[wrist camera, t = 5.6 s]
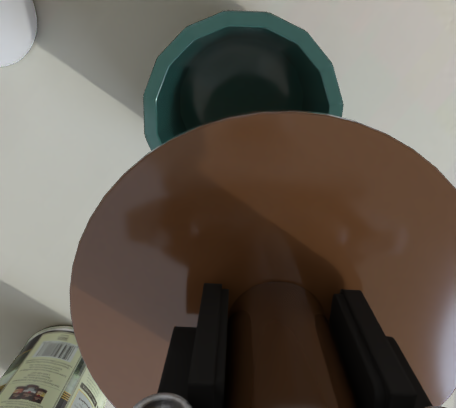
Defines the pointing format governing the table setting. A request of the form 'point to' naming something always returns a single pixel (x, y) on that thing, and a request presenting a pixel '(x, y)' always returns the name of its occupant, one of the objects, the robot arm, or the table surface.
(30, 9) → the milk bottle
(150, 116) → the canister
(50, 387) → the coffee can
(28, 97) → the table surface
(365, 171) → the lid
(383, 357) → the robot arm
